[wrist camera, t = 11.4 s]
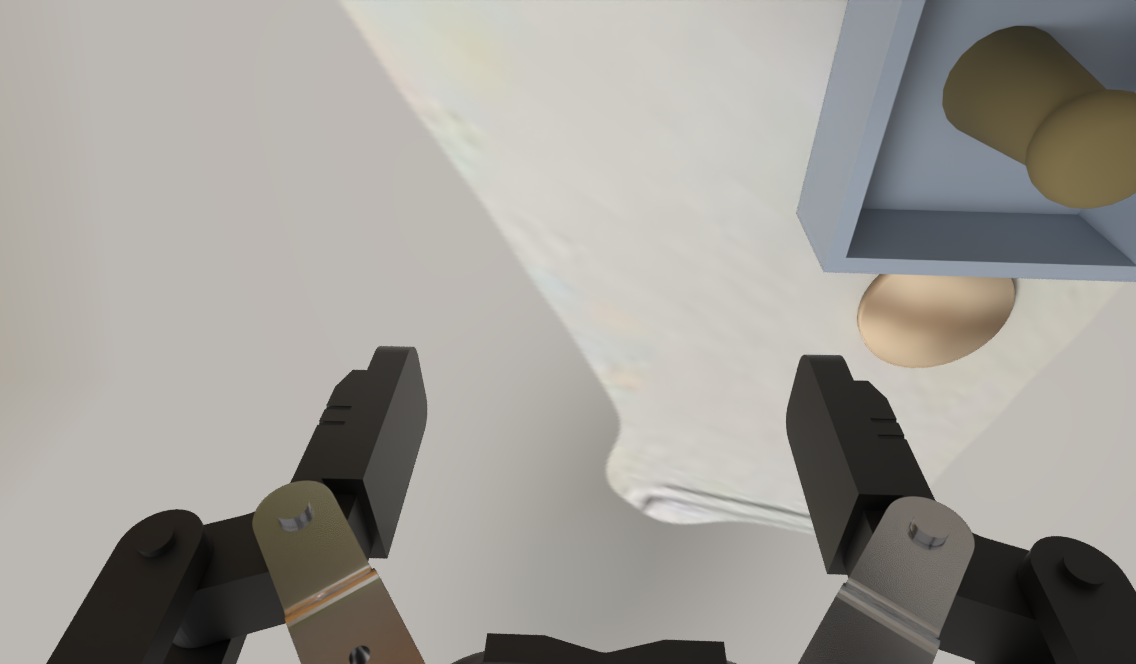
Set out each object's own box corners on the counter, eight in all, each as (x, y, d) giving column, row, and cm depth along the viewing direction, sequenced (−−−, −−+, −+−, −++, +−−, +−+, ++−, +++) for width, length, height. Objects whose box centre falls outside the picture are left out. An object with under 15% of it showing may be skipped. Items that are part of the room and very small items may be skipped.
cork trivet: (880, 242, 45) (885, 250, 44) (1032, 247, 45) (1040, 255, 44) (841, 356, 51) (845, 365, 50) (975, 361, 51) (981, 370, 50)
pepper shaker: (1086, 62, 36) (1235, 143, 28) (992, 153, 40) (1099, 251, 31) (1008, 2, 35) (1141, 67, 26) (918, 103, 38) (1009, 190, 30)
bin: (877, -117, 33) (931, -101, 27) (1257, -112, 32) (1391, -95, 27) (796, 213, 44) (823, 272, 38) (1078, 221, 43) (1146, 282, 38)
